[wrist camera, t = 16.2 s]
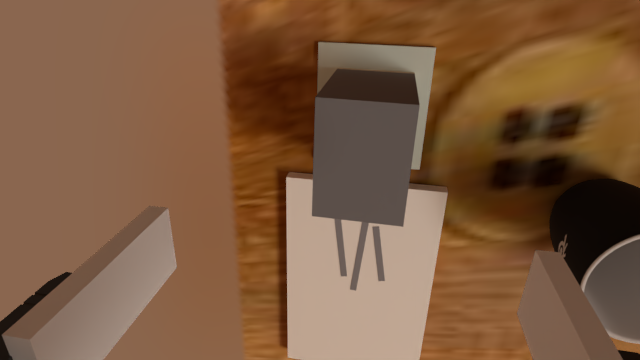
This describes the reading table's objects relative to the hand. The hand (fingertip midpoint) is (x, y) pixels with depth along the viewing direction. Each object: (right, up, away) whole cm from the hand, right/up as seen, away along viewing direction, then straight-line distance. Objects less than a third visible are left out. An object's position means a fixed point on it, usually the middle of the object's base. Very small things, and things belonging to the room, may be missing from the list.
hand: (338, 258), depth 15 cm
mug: (+23, -1, +21) cm, 31 cm away
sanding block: (+4, +8, +20) cm, 21 cm away
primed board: (+3, -7, +27) cm, 28 cm away
